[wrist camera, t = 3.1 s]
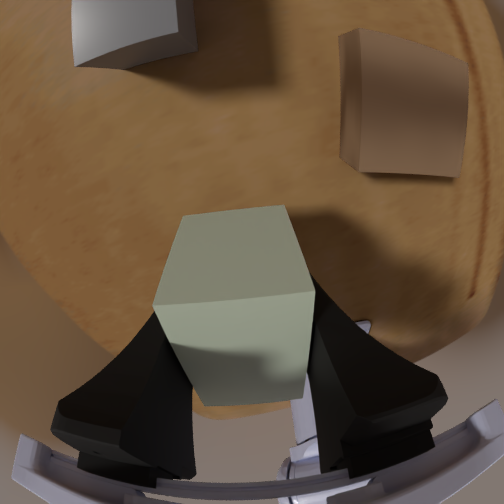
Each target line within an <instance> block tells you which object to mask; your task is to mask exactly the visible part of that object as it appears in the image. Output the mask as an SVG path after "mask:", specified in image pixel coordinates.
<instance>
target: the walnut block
mask: <svg viewBox="0 0 504 504" xmlns="http://www.w3.org/2000/svg"><path fill="white" fill-rule="evenodd" d="M338 40H339V57H340V86H341V127H340V158H341V159H342V160H344V161H345V162H346V163H348V164H349V165H350V166H351V167H353V168H354V169H355V170H357V171H358V172H380V173H405V174H422V175H435V176H447V177H457V178H459V176H460V171H461V165H462V159H463V152H464V145H465V137H466V127H467V114H468V89H469V78H468V63H466V62H464V61H462V60H460V59H458V58H455V57H453V56H451V55H448V54H446V53H444V52H441V51H439V50H436V49H433V48H431V47H428V46H425V45H422V44H419V43H416V42H413V41H410V40H407V39H404V38H400V37H397V36H393V35H389V34H385V33H381V32H377V31H373V30H368V29H363V28H357V29H355V30H352V31H350V32H347V33H345V34H343V35H340V36H338Z"/></svg>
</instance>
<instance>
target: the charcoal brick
mask: <svg viewBox="0 0 504 504" xmlns="http://www.w3.org/2000/svg"><path fill="white" fill-rule="evenodd" d="M72 41H73V55H74V66H75V67H95V68H110V69H121V70H124V69H127V68H131V67H134V66H137V65H140V64H144V63H148V62H151V61H155V60H159V59H163V58H167V57H172V56H176V55H181V54H186V53H191V52H197V51H198V45H197V36H196V26H195V16H194V6H193V0H72Z"/></svg>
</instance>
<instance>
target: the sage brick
mask: <svg viewBox="0 0 504 504" xmlns="http://www.w3.org/2000/svg"><path fill="white" fill-rule="evenodd" d="M314 300H315V288H314V286H313V283H312V280H311V277H310V274H309V271H308V268H307V265H306V263H305V260H304V257H303V254H302V251H301V249H300V246H299V243H298V240H297V238H296V235H295V232H294V230H293V227H292V224H291V222H290V219H289V216H288V214H287V211H286V208H285V206H284V205H277V206H266V207H256V208H246V209H237V210H228V211H219V212H211V213H203V214H195V215H187V216H183V218H182V220H181V223H180V226H179V228H178V231H177V234H176V236H175V239H174V242H173V245H172V248H171V250H170V253H169V256H168V259H167V262H166V265H165V268H164V271H163V274H162V277H161V280H160V283H159V286H158V289H157V292H156V296H155V299H154V302H153V305H152V306H153V308H154V310H155V313H156V315H157V317H158V319H159V321H160V323H161V326H162V328H163V330H164V332H165V334H166V336H167V338H168V340H169V342H170V344H171V346H172V348H173V350H174V352H175V354H176V356H177V358H178V360H179V362H180V364H181V365H182V367H183V369H184V371H185V373H186V375H187V377H188V378H189V380H190V382H191V384H192V385H193V387H194V389H195V391H196V392H197V394H198V396H199V398H200V399H201V401H202V403H203V404H204V406H230V405H248V404H260V403H270V402H279V401H288V400H295V399H302V398H303V394H304V387H305V380H306V373H307V365H308V358H309V349H310V341H311V332H312V322H313V312H314Z"/></svg>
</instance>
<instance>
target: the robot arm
mask: <svg viewBox="0 0 504 504" xmlns="http://www.w3.org/2000/svg"><path fill="white" fill-rule="evenodd" d="M309 274H310V273H309ZM310 277H311V280H312V283H313V286H314V288H315V300H314V312H313V322H312V332H311V341H310V349H309V358H308V365H307V373H306V380H305V387H304V394H303V398H302V399H295V400H290V402H291V408H292V415H293V422H294V429H295V436H296V443H297V446H295V447H292V448H290V457H288V458H286V459H285V460H284V461H283V463H282V465H281V467H280V469H279V471H278V474H277V479H276V481H265V482H249V483H205V482H189V481H178V480H173V479H179V480H181V479H188V480H190V479H192V478H193V477H194V476H195V475H196V466H195V458H194V445H193V427H192V390H193V385H192V384H191V382H190V380H189V378H188V377H187V375H186V373H185V371H184V369H183V367H182V365H181V364H180V362H179V360H178V358H177V356H176V354H175V352H174V350H173V348H172V346H171V344H170V342H169V340H168V338H167V336H166V334H165V332H164V330H163V328H162V326H161V323H160V321H159V319H158V317H157V315H156V313H155V311H154V312H153V314H152V315H151V317H150V318H149V319H148V321H147V322H146V323H145V325H144V326H143V327H142V328H141V330H140V331H139V332H138V333H137V335H136V336H135V337H134V338H133V339H132V341H131V342H130V343H129V344H128V345H127V346H126V347H125V348H124V349H123V350H122V352H121V353H120V354H119V355H118V356H117V357H116V358H114V360H112V361H111V362H110V363H109V364H108V365H107V366H106V367H105V368H104V369H103V370H102V371H101V372H99V373H98V374H97V375H95V376H94V377H93V378H92V379H91V380H89V381H88V382H86V383H85V384H84V385H82V386H81V387H80V388H78V389H77V390H75V391H74V392H72V393H71V394H69V395H68V396H66V397H64V398H63V399H61V400H60V401H59V402H58V405H57V408H56V412H55V415H54V418H53V422H52V425H51V432H52V433H53V435H55V436H56V437H57V438H59V439H60V440H62V441H63V442H65V443H66V444H68V445H70V446H72V447H73V448H75V449H77V450H78V451H80V452H79V457H78V459H76V458H73V457H70V456H67V455H65V454H62V453H60V452H57V451H55V450H52V449H51V448H50V447H48V446H46V445H45V444H43V443H41V442H39V441H37V440H35V439H33V438H31V437H29V436H27V435H24V434H21V436H20V440H19V443H18V447H17V452H16V456H15V461H14V466H13V471H12V479H13V480H15V481H16V482H18V483H19V484H21V485H22V486H24V487H25V488H27V489H28V490H30V491H31V492H33V493H34V494H36V495H37V496H39V497H40V498H42V499H44V500H45V501H47V502H48V503H50V504H180V503H174V502H169V501H164V500H158V499H153V498H147V497H146V496H145V494H144V493H143V492H147V493H153V494H158V495H165V496H173V497H181V498H192V499H205V500H259V499H272V498H278V501H279V504H440V503H442V502H443V501H445V500H446V499H447V498H449V497H451V496H452V495H454V494H455V493H457V492H458V491H459V490H461V489H462V488H463V487H465V486H466V485H468V484H469V483H470V482H471V481H473V480H474V479H475V478H476V477H478V476H479V475H480V474H482V473H483V472H484V471H485V470H487V469H488V468H489V467H490V466H491V465H493V464H494V463H495V462H496V461H498V459H500V458H501V457H502V456H503V455H504V414H503V411H502V409H501V407H500V404H499V402H498V400H497V399H494V400H493V401H491V402H490V403H488V404H487V405H485V406H484V407H482V408H481V409H479V410H478V411H476V412H475V413H473V414H472V415H471V416H470V417H468V418H467V419H466V421H464V422H462V423H461V424H459V425H457V426H455V427H453V428H451V429H449V430H447V431H445V432H444V433H442V434H440V435H437V436H436V437H432V434H431V432H430V429H432V428H433V424H432V421H431V418H432V417H433V416H434V415H435V414H436V413H437V412H438V411H439V410H441V409H442V408H443V406H444V405H445V404H446V402H447V400H448V397H447V394H446V392H445V389H444V388H443V385H442V383H441V381H440V379H439V377H438V376H437V375H436V374H434V373H432V372H430V371H428V370H426V369H424V368H421V367H419V366H417V365H415V364H413V363H411V362H410V361H408V360H406V359H404V358H403V357H401V356H399V355H397V354H396V353H394V352H393V351H391V350H390V349H388V348H387V347H385V346H384V345H382V344H381V343H379V342H378V341H377V340H375V339H374V338H373V337H371V336H370V335H369V334H368V333H369V330H370V327H371V324H370V322H369V321H361V322H356V323H355V322H354V321H353V320H351V319H350V318H349V317H348V316H347V315H346V314H345V313H344V312H343V311H342V310H341V309H340V308H339V307H338V306H337V305H336V303H335V302H334V301H333V300H332V299H331V298H330V297H329V296H328V295H327V294H326V292H325V291H324V290H323V289H322V288H321V286H320V285H319V284H318V283H317V282H316V280H315V279H314V278H313V276H312V275H311V274H310ZM141 491H142V492H141Z"/></svg>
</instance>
